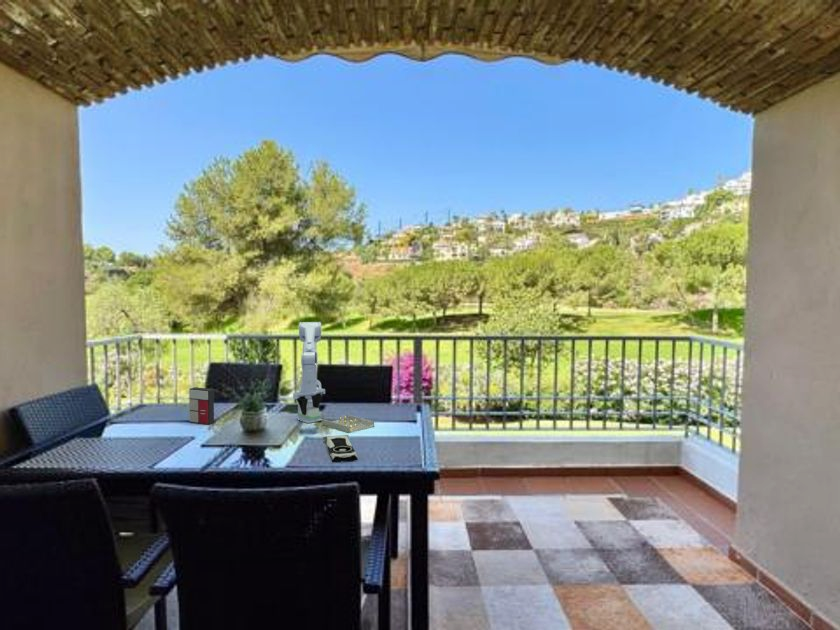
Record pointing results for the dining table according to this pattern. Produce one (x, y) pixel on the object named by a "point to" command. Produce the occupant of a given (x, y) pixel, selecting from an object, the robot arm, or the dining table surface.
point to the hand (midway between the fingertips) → (309, 413)
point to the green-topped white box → (311, 413)
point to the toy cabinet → (201, 405)
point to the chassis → (349, 423)
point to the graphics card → (340, 448)
